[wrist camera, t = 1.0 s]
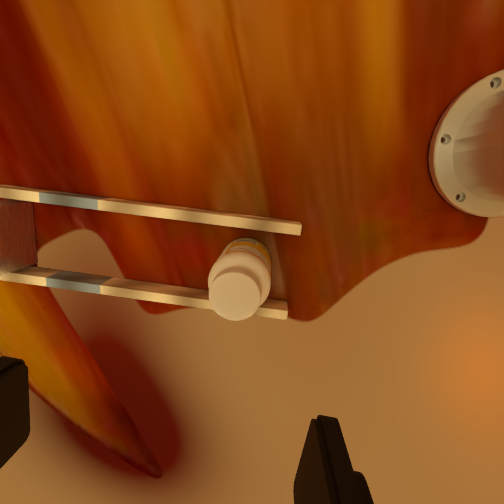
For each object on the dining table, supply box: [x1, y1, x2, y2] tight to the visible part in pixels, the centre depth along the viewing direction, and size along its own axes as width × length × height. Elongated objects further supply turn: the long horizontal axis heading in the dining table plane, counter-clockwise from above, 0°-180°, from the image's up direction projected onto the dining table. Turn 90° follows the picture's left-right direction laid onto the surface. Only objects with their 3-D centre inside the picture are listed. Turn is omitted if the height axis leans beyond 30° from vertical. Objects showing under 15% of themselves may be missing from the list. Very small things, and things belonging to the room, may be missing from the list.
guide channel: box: [0, 185, 302, 320], centre depth 28 cm, size 32×10×5 cm, turn 83°
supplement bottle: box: [208, 238, 271, 321], centre depth 25 cm, size 5×5×10 cm
